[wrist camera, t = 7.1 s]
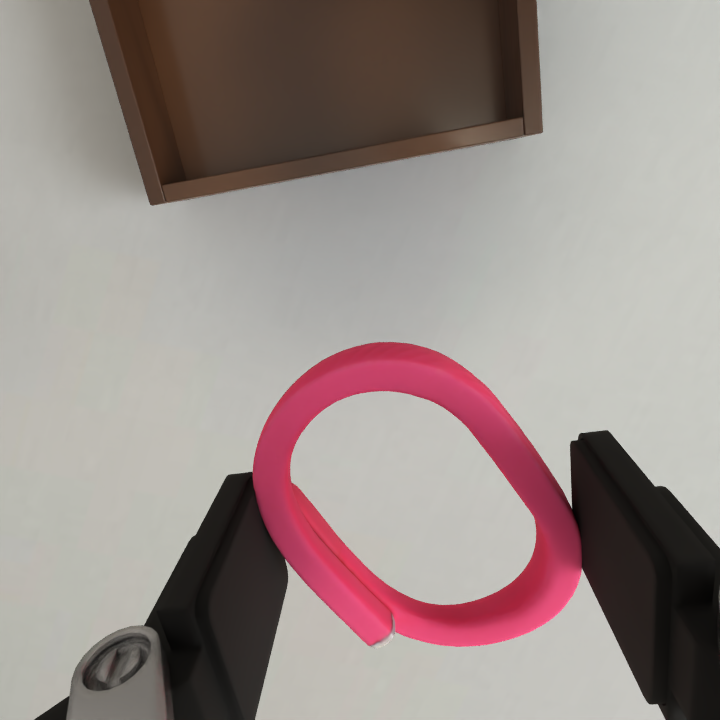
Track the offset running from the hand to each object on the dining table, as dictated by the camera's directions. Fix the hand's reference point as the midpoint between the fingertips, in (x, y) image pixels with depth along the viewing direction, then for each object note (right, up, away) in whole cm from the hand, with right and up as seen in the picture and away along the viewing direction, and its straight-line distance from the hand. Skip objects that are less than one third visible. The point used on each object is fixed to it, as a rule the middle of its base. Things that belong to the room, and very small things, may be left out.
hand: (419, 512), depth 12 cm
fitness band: (0, 0, +1) cm, 1 cm away
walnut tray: (-3, +18, +10) cm, 21 cm away
